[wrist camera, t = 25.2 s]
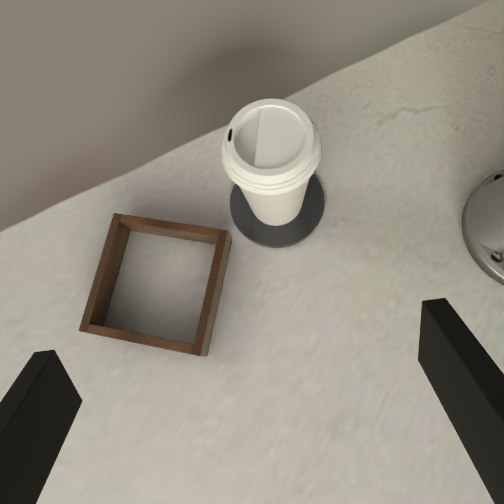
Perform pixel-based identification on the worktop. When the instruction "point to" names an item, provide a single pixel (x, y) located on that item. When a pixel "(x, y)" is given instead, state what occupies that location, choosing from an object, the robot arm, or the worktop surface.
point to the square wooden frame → (111, 266)
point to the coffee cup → (272, 157)
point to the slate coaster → (282, 233)
